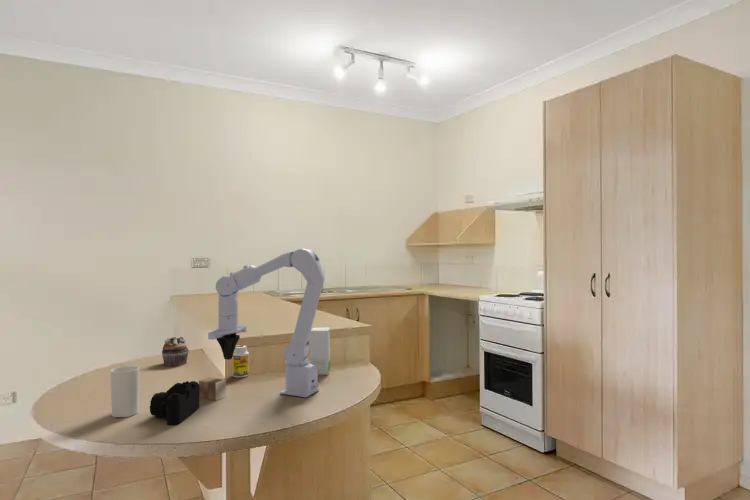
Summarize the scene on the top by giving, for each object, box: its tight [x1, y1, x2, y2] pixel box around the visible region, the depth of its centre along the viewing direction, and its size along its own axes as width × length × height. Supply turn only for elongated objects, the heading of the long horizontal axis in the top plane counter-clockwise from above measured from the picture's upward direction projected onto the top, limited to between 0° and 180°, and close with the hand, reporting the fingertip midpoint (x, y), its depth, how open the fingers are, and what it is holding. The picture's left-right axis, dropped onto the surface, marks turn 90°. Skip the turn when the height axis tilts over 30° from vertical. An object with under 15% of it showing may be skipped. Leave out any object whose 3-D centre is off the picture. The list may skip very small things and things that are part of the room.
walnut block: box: [198, 377, 227, 401], centre depth 141 cm, size 5×4×7 cm
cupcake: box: [161, 336, 190, 367], centre depth 181 cm, size 10×10×10 cm
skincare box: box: [309, 326, 331, 376], centre depth 169 cm, size 8×7×16 cm
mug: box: [110, 365, 140, 418], centre depth 128 cm, size 10×7×12 cm, turn 11°
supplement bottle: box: [231, 345, 250, 379], centre depth 164 cm, size 6×6×10 cm
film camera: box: [149, 380, 201, 426], centre depth 125 cm, size 15×10×9 cm, turn 177°
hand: (228, 358), depth 147 cm, fingers closed
